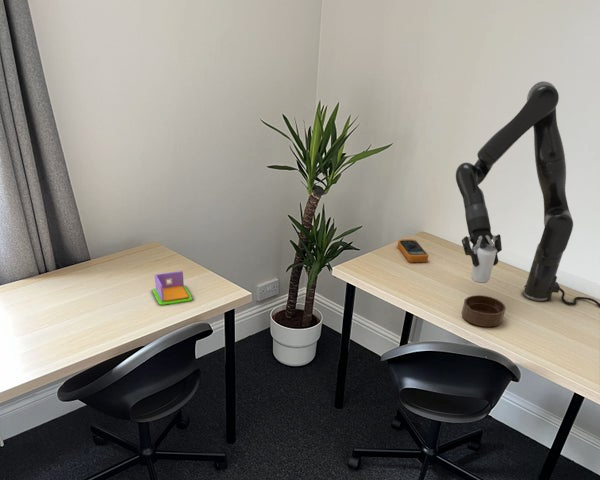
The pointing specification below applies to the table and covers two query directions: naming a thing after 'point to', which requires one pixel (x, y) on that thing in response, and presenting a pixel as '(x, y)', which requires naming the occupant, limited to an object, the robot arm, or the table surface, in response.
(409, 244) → the multimeter
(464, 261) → the table surface
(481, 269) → the can
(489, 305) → the bowl
